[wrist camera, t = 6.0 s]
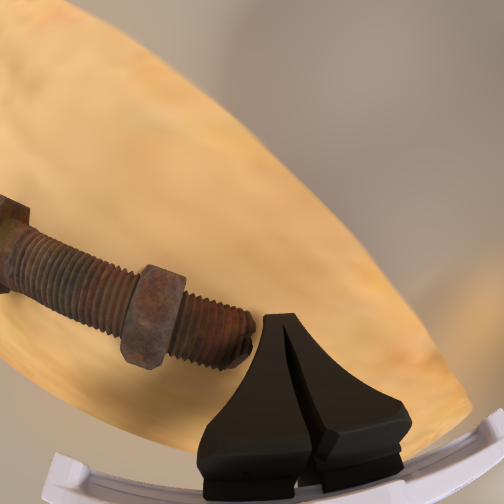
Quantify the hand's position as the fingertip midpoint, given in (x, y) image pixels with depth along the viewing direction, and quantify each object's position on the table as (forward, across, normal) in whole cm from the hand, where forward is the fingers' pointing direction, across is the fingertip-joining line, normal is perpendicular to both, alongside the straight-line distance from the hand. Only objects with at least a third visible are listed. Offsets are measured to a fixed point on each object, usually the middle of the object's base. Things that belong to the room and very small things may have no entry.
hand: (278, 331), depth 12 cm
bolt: (+3, +8, -2) cm, 9 cm away
